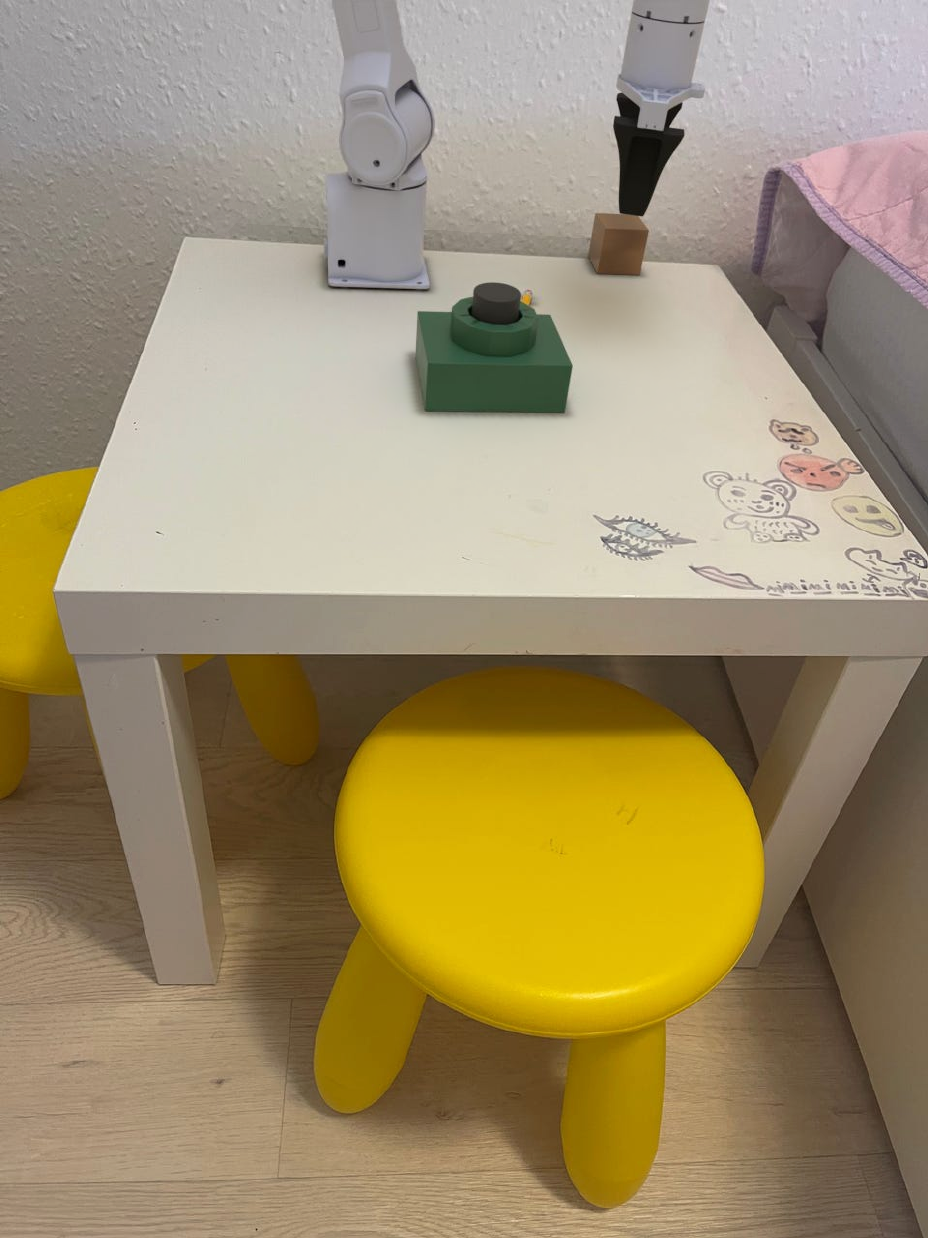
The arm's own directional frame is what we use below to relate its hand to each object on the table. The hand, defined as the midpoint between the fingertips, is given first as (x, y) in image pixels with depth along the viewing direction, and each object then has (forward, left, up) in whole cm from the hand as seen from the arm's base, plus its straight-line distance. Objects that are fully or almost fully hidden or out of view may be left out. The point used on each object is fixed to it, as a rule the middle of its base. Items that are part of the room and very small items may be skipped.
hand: (632, 199), depth 80 cm
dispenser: (-14, -15, -10) cm, 23 cm away
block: (+3, +11, -10) cm, 16 cm away
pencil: (-9, -2, -10) cm, 14 cm away
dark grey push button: (-14, -15, -5) cm, 21 cm away
